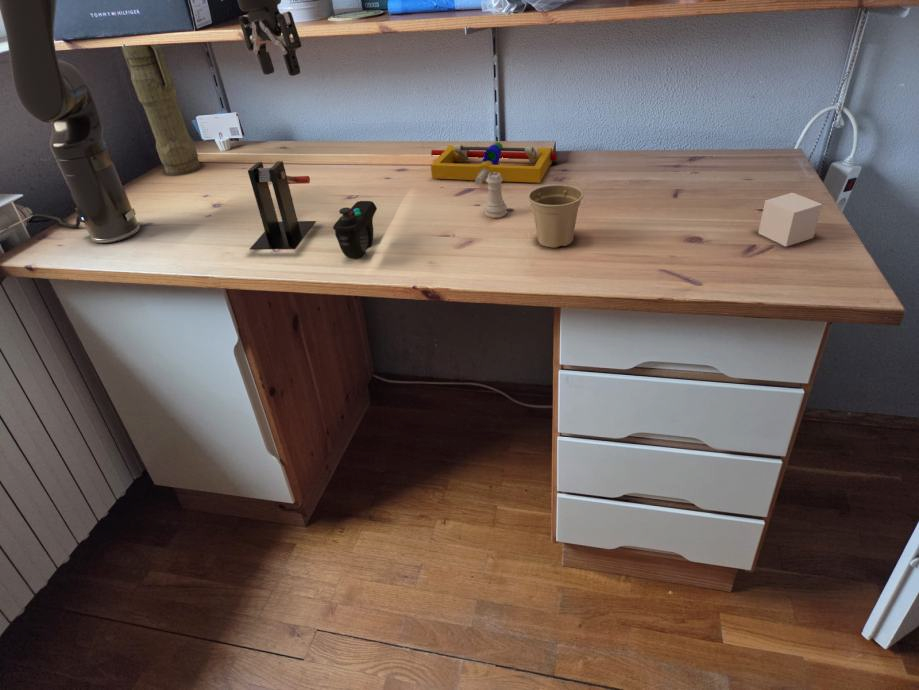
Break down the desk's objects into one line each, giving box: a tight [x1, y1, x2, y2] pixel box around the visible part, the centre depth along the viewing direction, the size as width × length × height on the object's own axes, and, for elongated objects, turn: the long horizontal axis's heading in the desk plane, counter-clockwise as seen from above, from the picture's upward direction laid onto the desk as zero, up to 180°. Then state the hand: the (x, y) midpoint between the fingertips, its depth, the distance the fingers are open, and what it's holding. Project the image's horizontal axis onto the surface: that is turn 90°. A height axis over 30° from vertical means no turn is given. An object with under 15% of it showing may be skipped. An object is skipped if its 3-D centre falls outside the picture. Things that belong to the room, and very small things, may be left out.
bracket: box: [247, 160, 317, 251], centre depth 117 cm, size 12×9×15 cm
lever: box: [258, 167, 311, 185], centre depth 119 cm, size 14×6×2 cm, turn 172°
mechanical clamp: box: [430, 141, 558, 186], centre depth 139 cm, size 18×6×30 cm
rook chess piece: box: [484, 172, 508, 219], centre depth 121 cm, size 4×4×8 cm
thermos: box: [120, 43, 201, 176], centre depth 152 cm, size 9×12×35 cm
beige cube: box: [757, 192, 823, 248], centre depth 104 cm, size 6×6×6 cm
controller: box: [332, 200, 378, 259], centre depth 111 cm, size 4×12×10 cm, turn 167°
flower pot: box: [527, 184, 585, 249], centre depth 109 cm, size 9×9×9 cm
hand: (282, 74), depth 120 cm, fingers open, 8 cm apart
